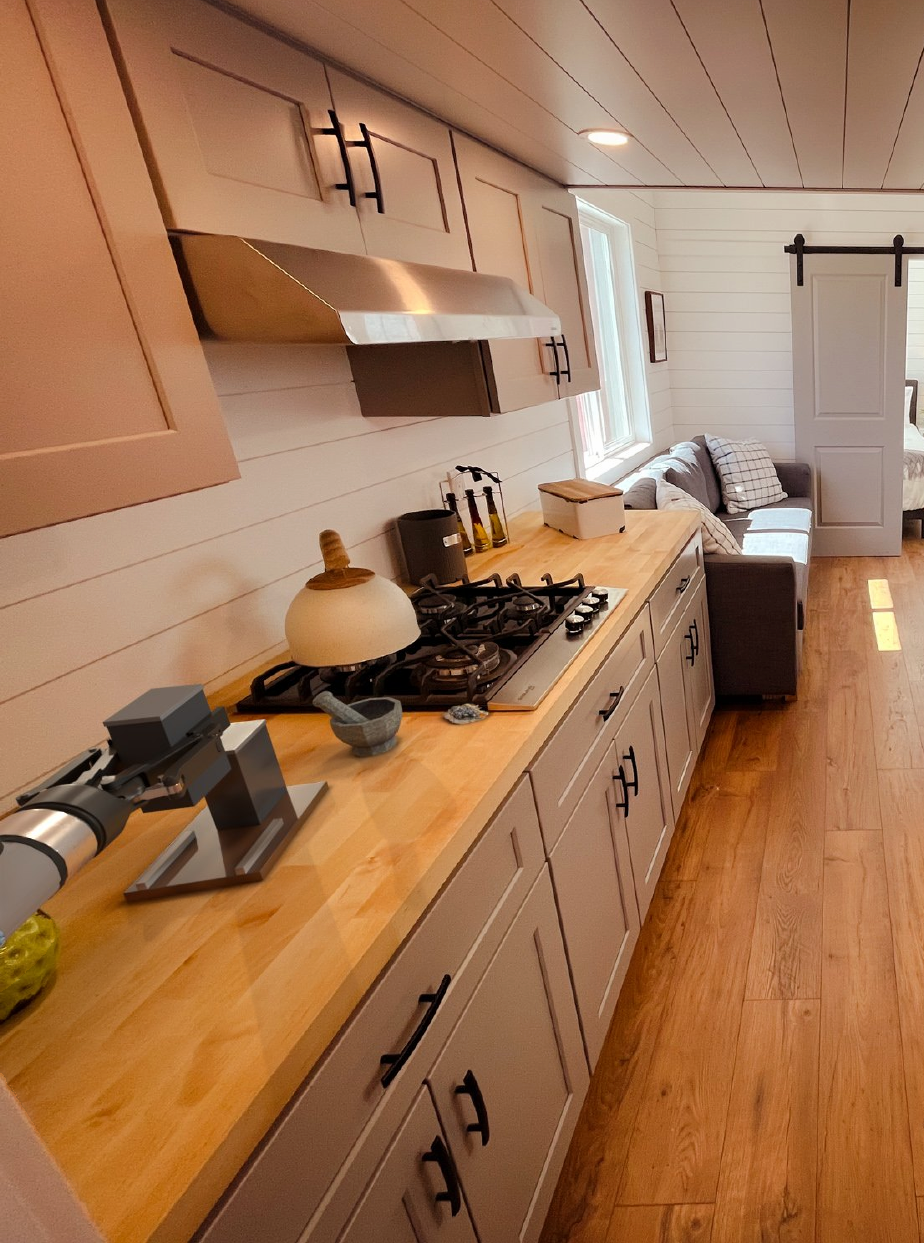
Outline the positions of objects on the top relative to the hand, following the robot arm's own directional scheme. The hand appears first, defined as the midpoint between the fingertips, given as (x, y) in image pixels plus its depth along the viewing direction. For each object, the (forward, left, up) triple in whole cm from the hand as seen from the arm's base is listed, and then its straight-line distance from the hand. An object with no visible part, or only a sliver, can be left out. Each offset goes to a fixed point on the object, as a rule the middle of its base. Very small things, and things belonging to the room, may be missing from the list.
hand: (196, 718), depth 87 cm
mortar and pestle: (+8, +22, -20) cm, 31 cm away
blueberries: (+21, +30, -20) cm, 42 cm away
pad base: (-1, +1, -19) cm, 19 cm away
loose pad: (0, -5, -7) cm, 9 cm away
